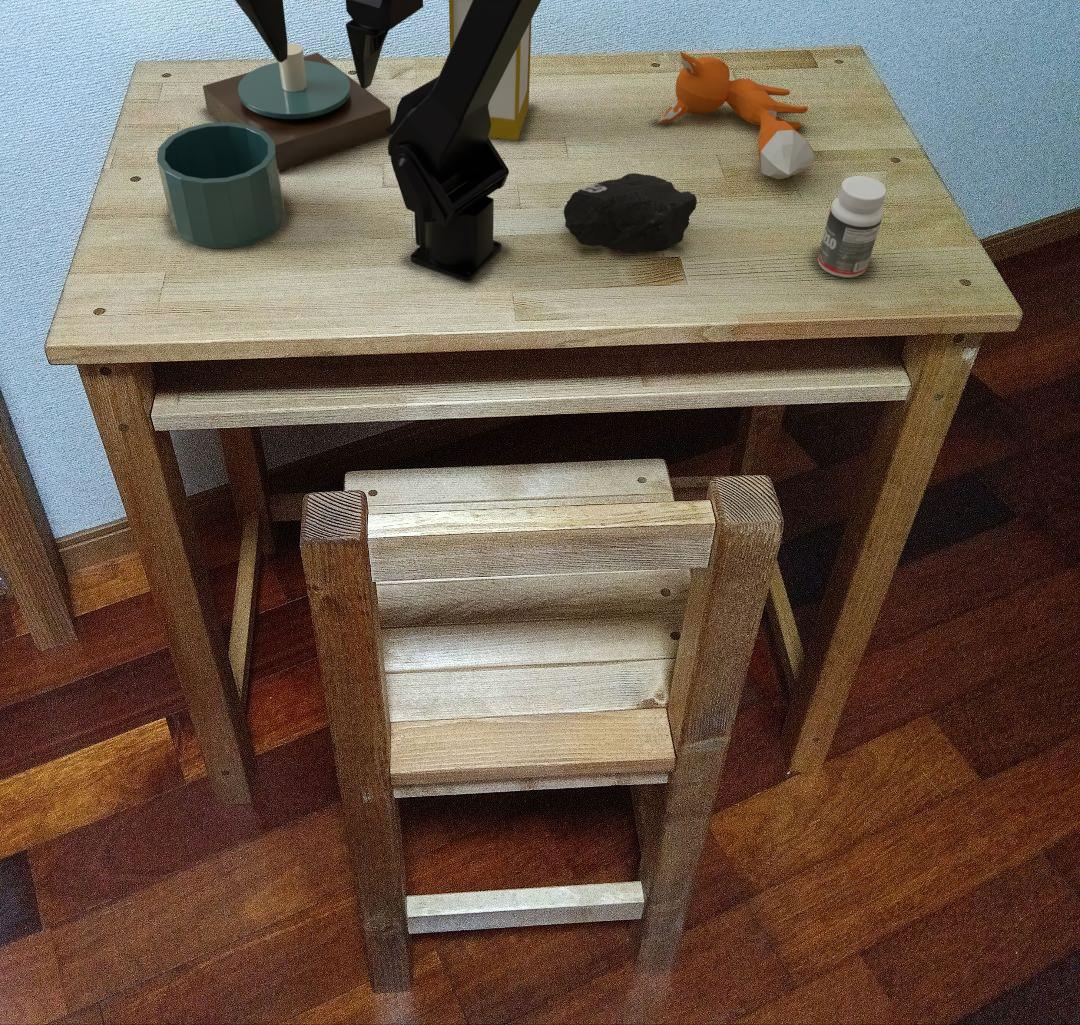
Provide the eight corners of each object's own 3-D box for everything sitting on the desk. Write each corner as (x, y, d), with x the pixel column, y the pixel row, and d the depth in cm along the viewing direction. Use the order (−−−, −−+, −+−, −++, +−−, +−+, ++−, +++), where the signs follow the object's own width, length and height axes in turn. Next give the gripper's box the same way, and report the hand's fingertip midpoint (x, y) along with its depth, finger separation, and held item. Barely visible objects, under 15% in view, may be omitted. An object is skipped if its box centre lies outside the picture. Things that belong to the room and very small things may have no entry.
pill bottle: (813, 248, 110) (833, 171, 104) (862, 251, 110) (885, 173, 104) (820, 277, 107) (841, 199, 101) (870, 280, 107) (894, 202, 101)
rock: (621, 279, 106) (628, 225, 101) (555, 236, 110) (559, 182, 105) (693, 241, 111) (703, 188, 106) (627, 201, 115) (634, 148, 110)
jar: (301, 196, 113) (292, 131, 108) (259, 257, 106) (247, 190, 101) (201, 179, 114) (188, 114, 109) (153, 238, 107) (136, 171, 102)
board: (392, 134, 122) (390, 108, 119) (275, 173, 116) (271, 146, 113) (320, 77, 129) (317, 52, 127) (207, 111, 123) (202, 85, 121)
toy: (779, 42, 128) (662, 31, 123) (879, 142, 114) (751, 134, 109) (755, 110, 134) (641, 102, 128) (846, 213, 120) (723, 209, 114)
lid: (372, 104, 120) (368, 56, 116) (273, 136, 115) (266, 87, 111) (316, 61, 126) (310, 14, 122) (220, 89, 121) (211, 41, 117)
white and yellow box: (440, 158, 119) (433, -81, 101) (465, 100, 127) (462, -130, 110) (508, 167, 118) (513, -73, 101) (528, 108, 127) (536, -123, 109)
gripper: (455, -118, 94) (458, 64, 105) (272, -163, 99) (293, 15, 111) (380, -75, 87) (391, 115, 99) (187, -125, 93) (220, 60, 104)
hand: (324, 73), depth 103 cm, fingers open, 9 cm apart
